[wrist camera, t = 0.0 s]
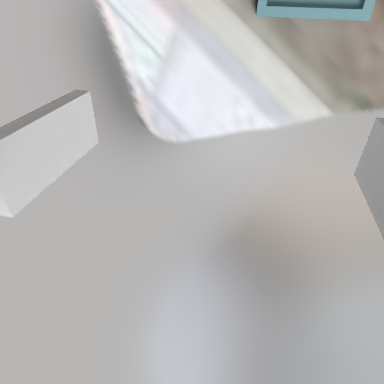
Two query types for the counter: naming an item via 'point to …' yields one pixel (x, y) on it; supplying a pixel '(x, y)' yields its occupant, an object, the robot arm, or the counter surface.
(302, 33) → the counter surface
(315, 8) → the tray
